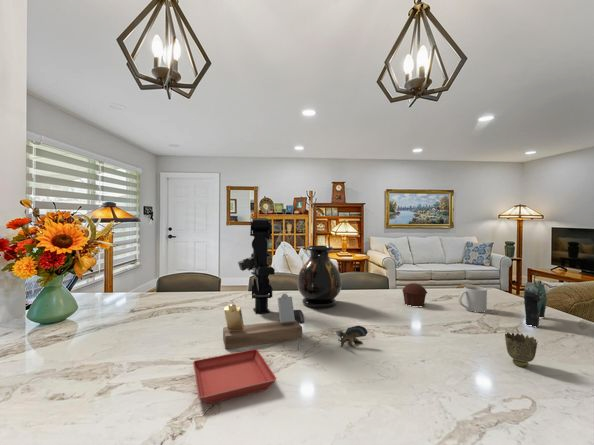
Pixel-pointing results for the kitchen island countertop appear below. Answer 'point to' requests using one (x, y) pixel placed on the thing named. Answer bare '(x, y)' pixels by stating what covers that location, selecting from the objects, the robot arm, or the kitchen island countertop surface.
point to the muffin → (414, 294)
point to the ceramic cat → (534, 302)
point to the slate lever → (286, 309)
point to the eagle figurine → (351, 334)
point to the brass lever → (234, 318)
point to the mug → (474, 298)
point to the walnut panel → (262, 334)
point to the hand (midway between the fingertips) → (259, 290)
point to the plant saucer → (232, 375)
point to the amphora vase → (319, 279)
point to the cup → (521, 348)
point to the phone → (298, 316)
